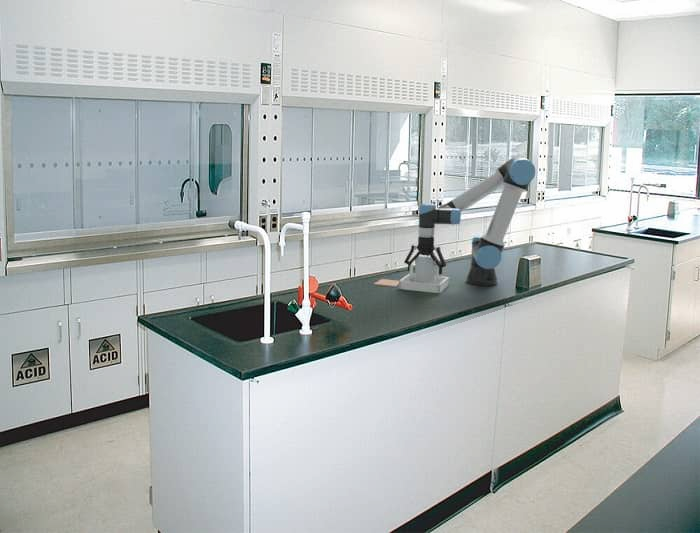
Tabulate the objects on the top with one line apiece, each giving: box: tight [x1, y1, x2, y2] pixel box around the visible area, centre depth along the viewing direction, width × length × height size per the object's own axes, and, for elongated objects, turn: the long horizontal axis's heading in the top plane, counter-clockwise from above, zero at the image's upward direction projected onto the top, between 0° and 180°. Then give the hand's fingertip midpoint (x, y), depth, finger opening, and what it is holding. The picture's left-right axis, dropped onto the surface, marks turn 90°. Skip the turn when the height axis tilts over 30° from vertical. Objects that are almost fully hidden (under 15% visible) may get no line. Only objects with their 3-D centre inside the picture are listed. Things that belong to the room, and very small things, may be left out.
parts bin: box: [398, 273, 450, 294], centre depth 335 cm, size 20×18×4 cm
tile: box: [373, 278, 399, 288], centre depth 341 cm, size 11×11×1 cm
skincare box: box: [414, 255, 435, 284], centre depth 334 cm, size 8×6×15 cm
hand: (424, 279), depth 335 cm, fingers open, 13 cm apart
